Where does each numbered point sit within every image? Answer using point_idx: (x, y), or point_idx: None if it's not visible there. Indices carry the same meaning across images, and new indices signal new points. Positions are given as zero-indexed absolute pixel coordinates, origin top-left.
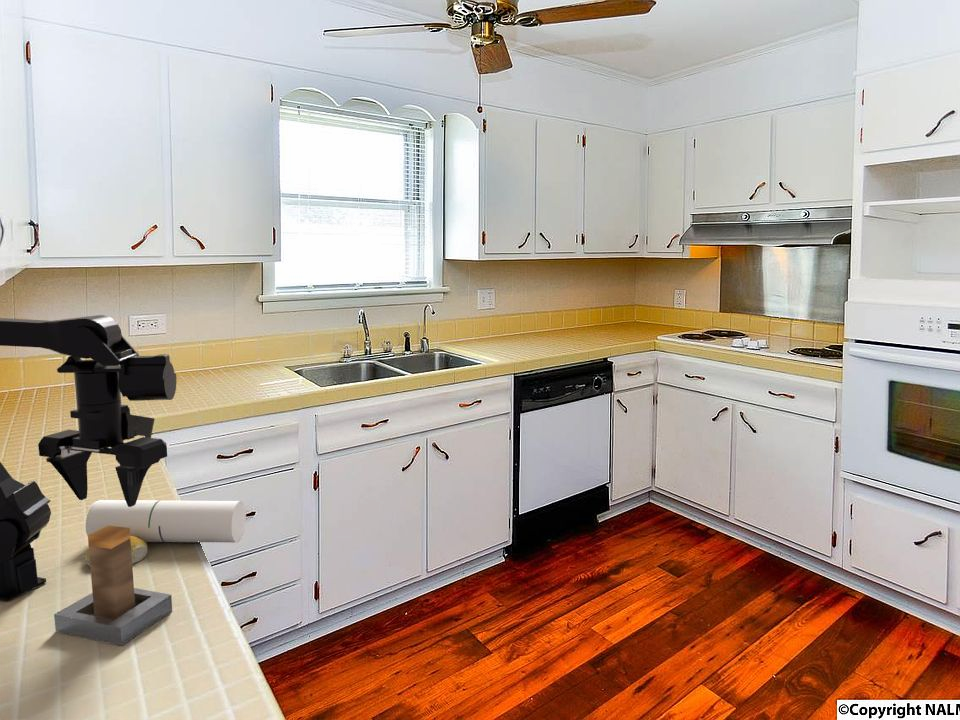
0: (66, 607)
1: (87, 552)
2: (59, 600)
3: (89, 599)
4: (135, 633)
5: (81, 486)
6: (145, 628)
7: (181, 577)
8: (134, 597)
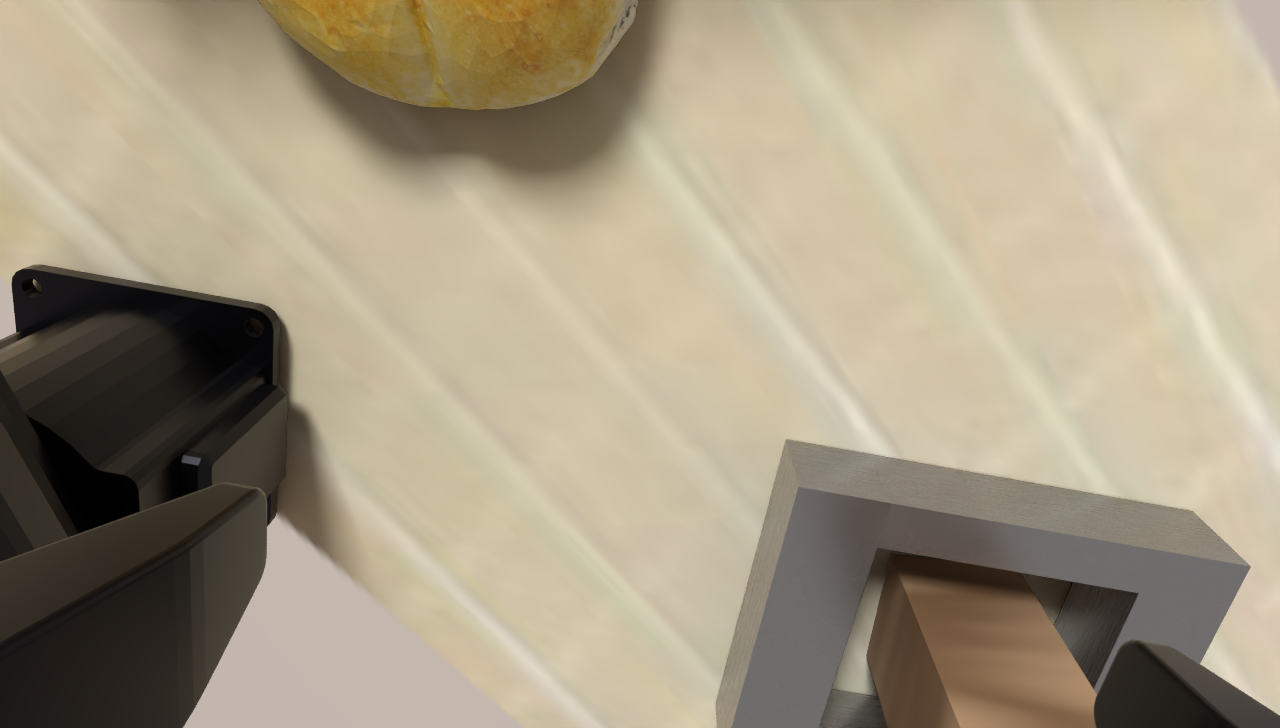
0: (735, 718)
1: (274, 18)
2: (517, 472)
3: (800, 646)
4: None
5: (142, 689)
6: None
7: (1093, 132)
8: (1059, 636)
